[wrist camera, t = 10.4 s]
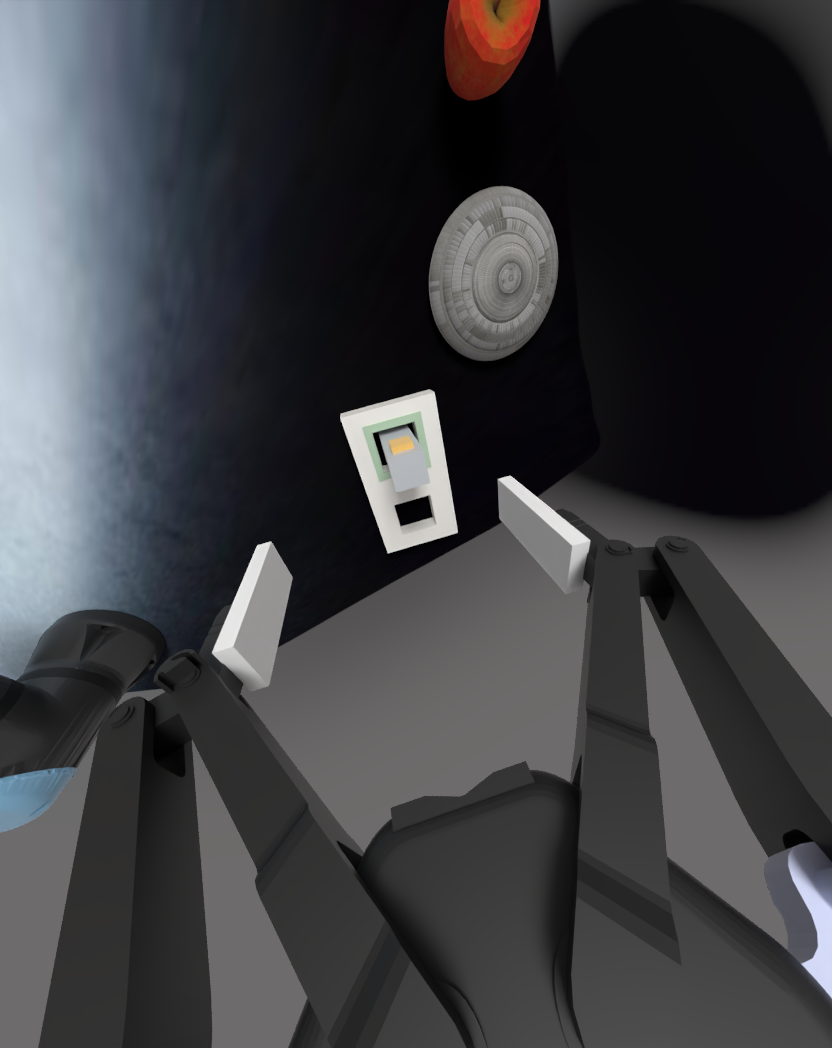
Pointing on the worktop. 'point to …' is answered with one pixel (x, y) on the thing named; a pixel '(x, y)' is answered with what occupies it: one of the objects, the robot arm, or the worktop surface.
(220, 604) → the worktop surface
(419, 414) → the panel
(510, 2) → the apple
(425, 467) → the plug
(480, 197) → the flying saucer
